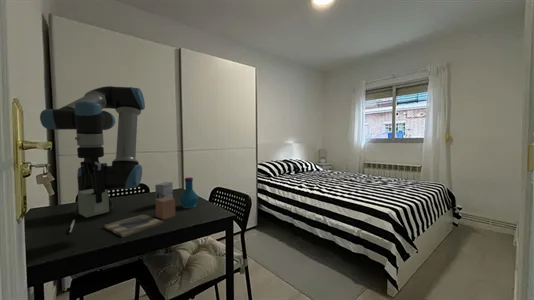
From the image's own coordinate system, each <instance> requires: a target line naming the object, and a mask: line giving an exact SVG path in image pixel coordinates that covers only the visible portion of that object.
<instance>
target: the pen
mask: <svg viewBox="0 0 534 300" xmlns="http://www.w3.org/2000/svg"><path fill="white" fill-rule="evenodd" d="M75 223H76V219H75V218H74V219H72V221H71V224H70V225H69V229H68V231H67V236H69V235H70V234H71V232H72V231H73V227H74V226H75Z"/></svg>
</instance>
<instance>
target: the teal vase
mask: <svg viewBox="0 0 534 300" xmlns="http://www.w3.org/2000/svg"><path fill="white" fill-rule="evenodd" d="M193 180H194V177H185V178H184V182H185V190H184V191H183V193H182V194H181V195H180V197H179V201H180V203H181V205H182V208H183V209H191V208H195V207H196V206H197V203H198V200H199V195H198V194H197V193H196V192H195V190H194V189H193V186H194V184H193Z"/></svg>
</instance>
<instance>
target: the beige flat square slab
mask: <svg viewBox="0 0 534 300" xmlns="http://www.w3.org/2000/svg"><path fill="white" fill-rule="evenodd" d="M163 224H164V221H163V220H162V219H158V218H155V217H152V216H150V215H147V214H140V215H136V216H132V217H129V218H125V219H121V220H118V221H114V222H111V223H107V224H104V225H103V228H105V229H107V230H108V231H110V232H111V233H114V234H115V235H118V236H120V237H122V238H124V237H125V238H126V237H128V236H131V235H133V234H137V233H140V232H143V231H146V230H149V229H152V228H156V227H159V226H161V225H163Z"/></svg>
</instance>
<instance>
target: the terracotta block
mask: <svg viewBox="0 0 534 300" xmlns="http://www.w3.org/2000/svg"><path fill="white" fill-rule="evenodd" d="M155 217H156V218H157V219H158V218H159V219H160V220H165V219H169V218H173V217H176V199H175V198H174V197H173V198H170V197H165V198H161V199H156V198H155Z"/></svg>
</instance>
